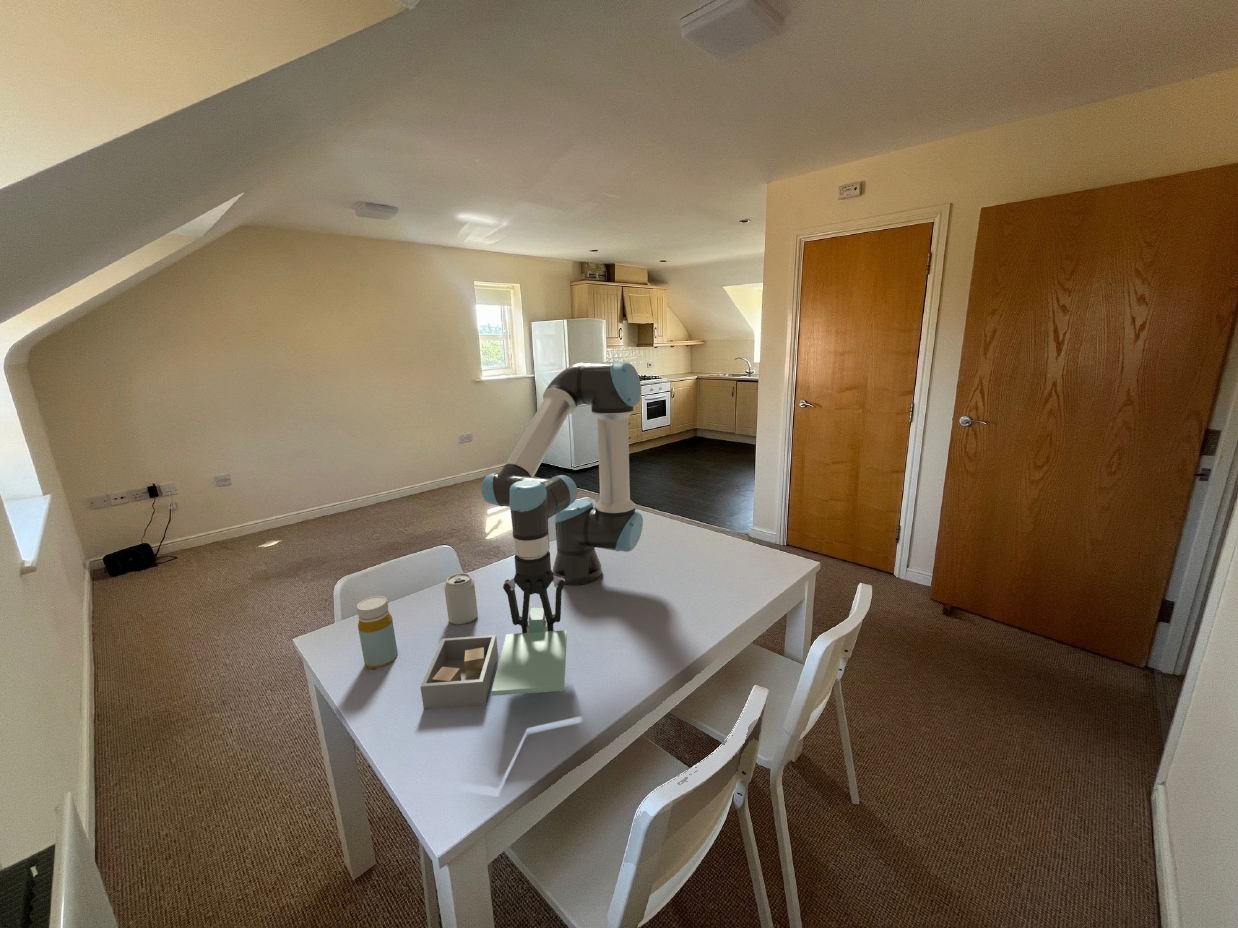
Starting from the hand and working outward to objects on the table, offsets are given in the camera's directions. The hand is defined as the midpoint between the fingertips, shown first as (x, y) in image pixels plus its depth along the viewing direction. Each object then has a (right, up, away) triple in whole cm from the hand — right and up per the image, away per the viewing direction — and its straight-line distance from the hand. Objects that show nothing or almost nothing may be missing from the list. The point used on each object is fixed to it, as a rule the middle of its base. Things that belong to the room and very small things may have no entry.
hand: (539, 649), depth 111 cm
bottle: (-37, -4, +4) cm, 37 cm away
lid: (+1, 0, -9) cm, 9 cm away
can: (-23, 0, +20) cm, 31 cm away
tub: (-15, -5, -5) cm, 17 cm away
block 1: (-18, -6, -8) cm, 20 cm away
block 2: (-14, -4, -2) cm, 14 cm away
